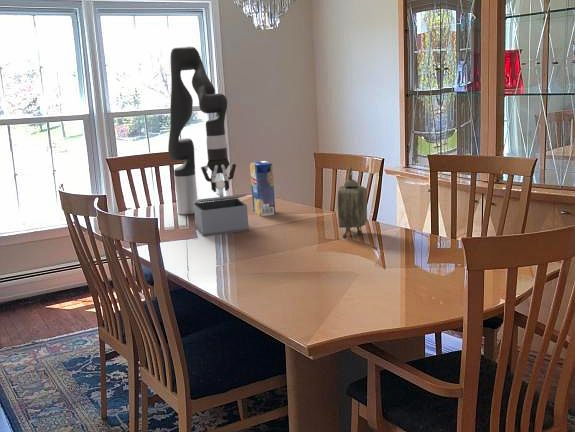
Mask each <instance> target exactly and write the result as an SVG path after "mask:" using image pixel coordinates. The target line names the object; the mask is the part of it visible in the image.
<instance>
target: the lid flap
mask: <svg viewBox="0 0 575 432" xmlns="http://www.w3.org/2000/svg"><path fill="white" fill-rule="evenodd" d="M224 181H225V180H223V179H221V178H219V179H217V180H216V181H215V183H216V190H218V192H219V196H217V197H207V198H200V199H198V200H196V201H193V203H203V202H211V201H220V200H228V199H240V198H243V197H247V193H242V194H233V195H225V196H224V190H223V189H225V182H224Z"/></svg>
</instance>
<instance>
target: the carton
mask: <svg viewBox="0 0 575 432" xmlns="http://www.w3.org/2000/svg"><path fill="white" fill-rule="evenodd" d="M194 211H195V213H194V219H195V220H194V221H195V228H196V230H197V231H198V232H199V233H200V234H201V236H202V237H209V236H214V235H215V236H216V235H224V234H232V233H238V232H239V233H240V232H246V231H249V230H250V229H249V216H248V205H247V204H246V203H244V202H243V201H241V200H240V198H235V199H226V200H218V201H209V202H201V203H194Z"/></svg>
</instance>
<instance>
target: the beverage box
mask: <svg viewBox="0 0 575 432" xmlns="http://www.w3.org/2000/svg"><path fill="white" fill-rule="evenodd" d="M249 169H250V171H249V172H250V181H251V197H252V199H251V200H252V211H253V213H255V214H256V215H258V216H259V217H267V216H273V215H276V205H275V202H276V201H275V189H274V188H275V186H274V173H273V172H274V171H273V170H274V169H273V163H271V162H269V161H266V160H261V161H250V162H249Z"/></svg>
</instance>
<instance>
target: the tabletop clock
mask: <svg viewBox="0 0 575 432" xmlns="http://www.w3.org/2000/svg"><path fill="white" fill-rule="evenodd" d="M348 178H349V179H347V180H345V182H344V183H343V185H340V186H339V187H338V190H337V216H338V217H337V218H338V228H341V229H342V228H343V229H344V228H345V232H344V233H343V234H342V238H343V239H346V238H347V237H348V235H347V234H348V232H349V231H350V230H351V228H356V230H357V231H356V234H357V235H358V236H360V235H361V234H362V230H360V228H362V227H364V226H365V225H366V223H367V220H368V203H367V202H368V201H367V200H368V199H367V188H366V187H365V186H364V185H363V186H362V185H359V183H358V181H356V180H355V179H353V168H352V166H349V168H348Z"/></svg>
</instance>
